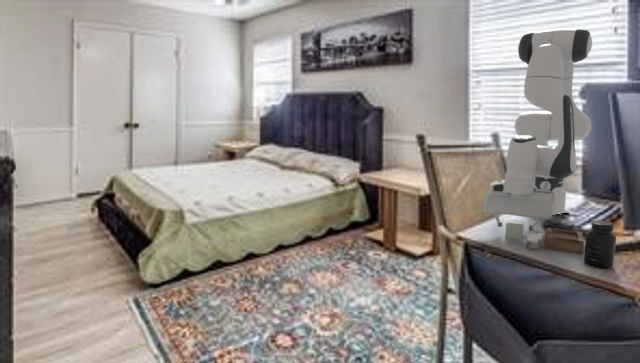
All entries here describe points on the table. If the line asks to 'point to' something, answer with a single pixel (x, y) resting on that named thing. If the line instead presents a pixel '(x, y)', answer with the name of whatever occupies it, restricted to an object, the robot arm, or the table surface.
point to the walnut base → (564, 240)
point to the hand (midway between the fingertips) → (515, 228)
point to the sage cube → (514, 229)
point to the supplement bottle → (600, 245)
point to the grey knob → (534, 240)
